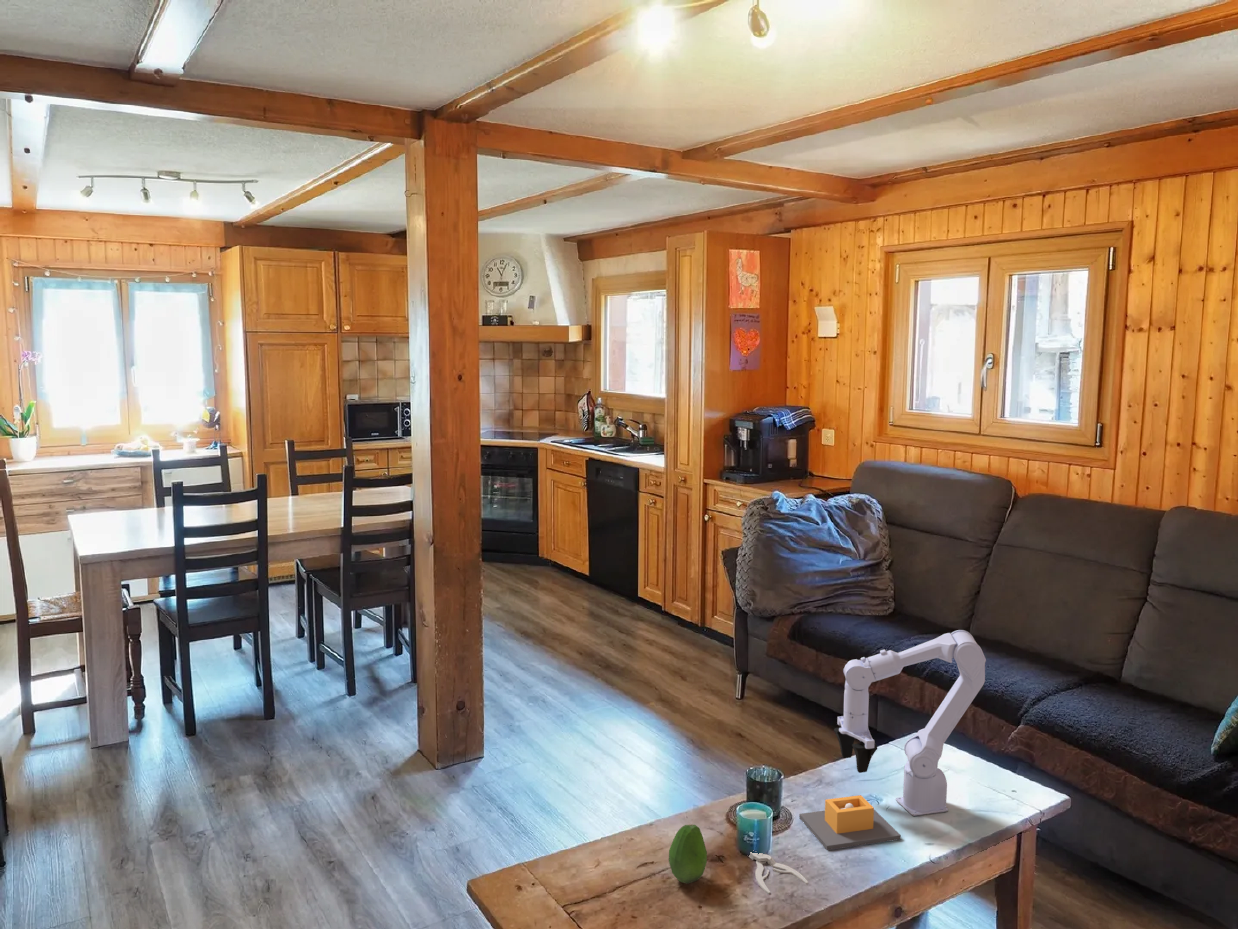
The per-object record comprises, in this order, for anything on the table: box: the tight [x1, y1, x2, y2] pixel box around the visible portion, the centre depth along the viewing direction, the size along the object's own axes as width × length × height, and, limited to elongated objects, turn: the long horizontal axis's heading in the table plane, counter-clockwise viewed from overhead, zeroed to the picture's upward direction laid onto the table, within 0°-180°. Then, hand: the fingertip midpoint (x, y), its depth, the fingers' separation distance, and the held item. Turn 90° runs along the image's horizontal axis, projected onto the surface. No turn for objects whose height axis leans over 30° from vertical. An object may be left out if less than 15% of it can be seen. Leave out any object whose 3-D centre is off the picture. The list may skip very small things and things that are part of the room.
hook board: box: [799, 803, 902, 851], centre depth 203 cm, size 18×14×6 cm
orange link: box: [824, 795, 875, 834], centre depth 203 cm, size 9×6×5 cm, turn 103°
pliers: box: [748, 852, 809, 895], centre depth 187 cm, size 10×2×15 cm
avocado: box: [668, 824, 708, 884], centre depth 183 cm, size 8×8×12 cm
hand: (854, 764), depth 214 cm, fingers open, 7 cm apart
